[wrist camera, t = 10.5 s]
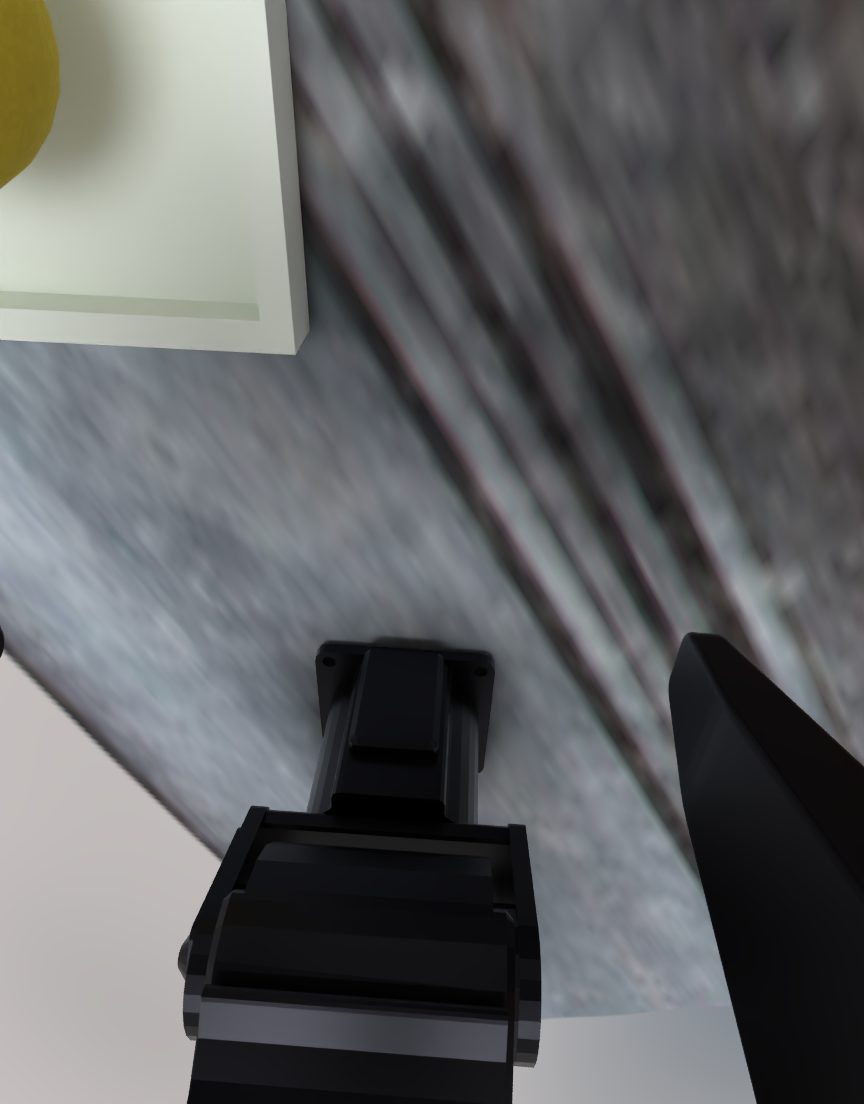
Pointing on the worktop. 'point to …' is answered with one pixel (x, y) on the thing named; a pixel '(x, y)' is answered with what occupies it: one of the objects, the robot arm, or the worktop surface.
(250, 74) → the tray
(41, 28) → the lemon
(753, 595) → the worktop surface
